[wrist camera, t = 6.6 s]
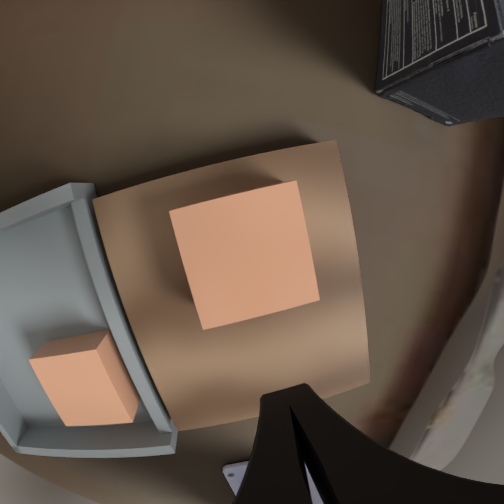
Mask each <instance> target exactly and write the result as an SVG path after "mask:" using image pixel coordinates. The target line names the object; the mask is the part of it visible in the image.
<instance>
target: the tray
mask: <svg viewBox="0 0 504 504" xmlns="http://www.w3.org/2000/svg"><path fill="white" fill-rule="evenodd" d="M95 198H97V195H96V190H95V186H94V183H68V184H66V185H63V186H61V187H58V188H56V189H53V190H51V191H48V192H46V193H43V194H41V195H39V196H36V197H34V198H32V199H29V200H27V201H25V202H23V203H20V204H18V205H16V206H14V207H12V208H9V209H7V210H5V211H3V212H1V213H0V431H1V433H2V434H3V436H4V437H5V439H6V440H7V441H8V443H9V444H10V445H11V447H12V448H13V450H14V451H15V452H16V453H22V454H31V455H41V456H54V457H74V458H121V457H141V456H155V455H166V454H175V450H176V441H177V433H178V430H177V428H176V426H175V424H174V422H173V420H172V418H171V416H170V414H169V412H168V410H167V408H166V406H165V404H164V402H163V400H162V398H161V396H160V394H159V391H158V389H157V387H156V385H155V383H154V380H153V378H152V376H151V374H150V371H149V369H148V367H147V364H146V362H145V360H144V357H143V355H142V353H141V350H140V348H139V345H138V343H137V340H136V338H135V335H134V333H133V330H132V327H131V325H130V322H129V319H128V317H127V314H126V311H125V308H124V306H123V303H122V300H121V297H120V294H119V291H118V288H117V285H116V282H115V279H114V276H113V273H112V270H111V267H110V263H109V260H108V257H107V254H106V250H105V247H104V243H103V240H102V236H101V232H100V229H99V225H98V221H97V217H96V213H95V209H94V205H93V201H92V199H95ZM105 330H111V333H112V335H113V338H114V340H115V343H116V345H117V347H118V350H119V352H120V354H121V357H122V359H123V361H124V364H125V366H126V368H127V370H128V372H129V375H130V377H131V379H132V381H133V383H134V385H135V387H136V389H137V391H138V393H139V395H140V397H141V399H140V402H139V405H138V408H137V411H136V414H135V417H134V421H133V422H132V423H121V424H108V425H90V426H66V425H65V424H64V422H63V421H62V419H61V417H60V416H59V414H58V413H57V411H56V409H55V408H54V406H53V404H52V403H51V401H50V399H49V397H48V396H47V394H46V392H45V390H44V389H43V387H42V385H41V383H40V381H39V379H38V377H37V376H36V374H35V372H34V370H33V368H32V366H31V364H30V362H29V358H30V357H31V356H32V355H33V354H34V353H35V352H36V351H37V350H38V349H39V348H40V347H41V346H42V345H43V344H44V343H45V342H46V341H51V340H57V339H62V338H68V337H73V336H79V335H84V334H89V333H94V332H99V331H105Z"/></svg>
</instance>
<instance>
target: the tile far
mask: <svg viewBox="0 0 504 504" xmlns="http://www.w3.org/2000/svg"><path fill="white" fill-rule="evenodd" d="M29 362H30V364H31V366H32V368H33V370H34V372H35V374H36V376H37V377H38V379H39V381H40V383H41V385H42V387H43V389H44V390H45V392H46V394H47V396H48V397H49V399H50V401H51V403H52V404H53V406H54V408H55V409H56V411H57V413H58V414H59V416H60V417H61V419H62V421H63V422H64V424H65V425H66V426H90V425H108V424H121V423H132V422H133V421H134V417H135V414H136V411H137V408H138V405H139V402H140V399H141V397H140V395H139V393H138V391H137V389H136V387H135V385H134V383H133V381H132V379H131V377H130V375H129V372H128V370H127V368H126V366H125V364H124V361H123V359H122V357H121V354H120V352H119V350H118V347H117V345H116V343H115V340H114V338H113V335H112V333H111V330H105V331H99V332H94V333H89V334H84V335H79V336H73V337H68V338H62V339H57V340H51V341H46V342H45V343H44V344H43V345H42V346H41V347H40V348H39V349H38V350H37V351H36V352H35V353H34V354H33V355H32V356H31V357H30V358H29Z"/></svg>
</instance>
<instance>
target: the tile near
mask: <svg viewBox="0 0 504 504" xmlns="http://www.w3.org/2000/svg"><path fill="white" fill-rule="evenodd" d="M169 213H170V217H171V221H172V225H173V229H174V232H175V236H176V240H177V244H178V247H179V251H180V255H181V258H182V262H183V265H184V269H185V272H186V276H187V279H188V283H189V286H190V289H191V293H192V296H193V299H194V303H195V306H196V309H197V312H198V315H199V319H200V322H201V325H202V328H203V330H205V329H210V328H214V327H218V326H222V325H227V324H231V323H235V322H239V321H243V320H247V319H251V318H255V317H259V316H263V315H267V314H271V313H275V312H278V311H282V310H286V309H289V308H293V307H297V306H300V305H304V304H308V303H311V302H315V301H318V300H320V298H319V292H318V286H317V281H316V275H315V269H314V264H313V259H312V253H311V248H310V243H309V238H308V233H307V228H306V223H305V218H304V213H303V208H302V203H301V199H300V194H299V189H298V185H297V180H295V181H285V182H280V183H275V184H271V185H266V186H262V187H257V188H253V189H249V190H244V191H240V192H236V193H232V194H228V195H224V196H219V197H215V198H211V199H207V200H203V201H200V202H196V203H192V204H188V205H184V206H180V207H177V208H175V209H172V210H170V211H169Z"/></svg>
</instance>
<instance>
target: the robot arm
mask: <svg viewBox="0 0 504 504" xmlns="http://www.w3.org/2000/svg"><path fill="white" fill-rule="evenodd" d="M223 473H224V475H225V477H226V479H227V481H228V483H229V485H230V486H231V488H232V490H233V492H234V494H235V495H236V496H235V499H234V501H233V503H232V504H504V485H499V484H491V483H485V482H480V481H474V480H470V479H466V478H461V477H457V476H454V475H451V474H447V473H444V472H442V471H439V470H436V469H433V468H430V467H427V466H424V465H421V464H419V463H417V462H415V461H412V460H410V459H408V458H406V457H403V456H401V455H399V454H398V453H396V452H394V451H392V450H390V449H388V448H386V447H384V446H383V445H381V444H379V443H378V442H376V441H374V440H373V439H371V438H370V437H368V436H367V435H365V434H364V433H362V432H361V431H359V430H358V429H357V428H355V427H354V426H353V425H351V424H350V423H349V422H347V421H346V420H345V419H344V418H342V417H341V416H340V415H339V414H337V413H336V412H335V411H334V410H333V409H332V408H331V407H330V406H328V405H327V404H326V403H325V402H324V401H323V400H322V399H321V398H320V397H319V396H318V395H317V394H316V393H315V392H314V390H313V389H312V388H311V387H310V386H309V385H308V384H306V383H302V384H299V385H295V386H292V387H289V388H285V389H282V390H278V391H274V392H271V393H267V394H263V395H262V396H261V398H260V411H259V420H258V426H257V431H256V436H255V440H254V444H253V449H252V452H251V456H250V459H249V461H246V462H241V463H235V464H230V465H225V466H224V467H223ZM230 473H232V474H230Z"/></svg>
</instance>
